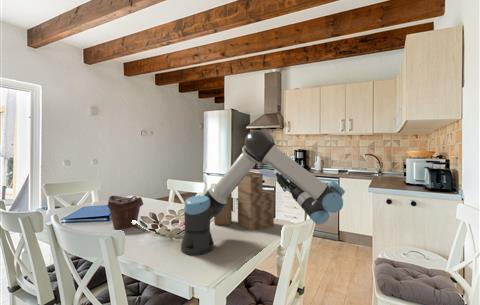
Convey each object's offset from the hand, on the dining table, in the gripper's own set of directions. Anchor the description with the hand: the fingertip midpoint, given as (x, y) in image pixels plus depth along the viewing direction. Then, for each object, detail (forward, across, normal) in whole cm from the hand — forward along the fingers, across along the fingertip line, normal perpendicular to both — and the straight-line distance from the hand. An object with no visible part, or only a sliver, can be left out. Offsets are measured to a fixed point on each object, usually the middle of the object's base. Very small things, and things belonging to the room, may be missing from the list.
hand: (277, 169), depth 137 cm
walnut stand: (-3, -5, -38) cm, 39 cm away
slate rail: (+1, 0, -6) cm, 6 cm away
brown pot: (+27, -75, -55) cm, 97 cm away
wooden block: (+7, -21, -44) cm, 49 cm away
